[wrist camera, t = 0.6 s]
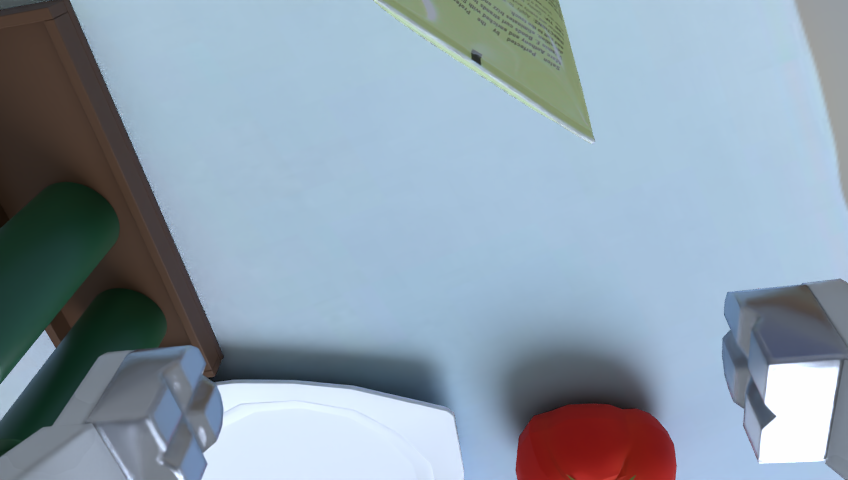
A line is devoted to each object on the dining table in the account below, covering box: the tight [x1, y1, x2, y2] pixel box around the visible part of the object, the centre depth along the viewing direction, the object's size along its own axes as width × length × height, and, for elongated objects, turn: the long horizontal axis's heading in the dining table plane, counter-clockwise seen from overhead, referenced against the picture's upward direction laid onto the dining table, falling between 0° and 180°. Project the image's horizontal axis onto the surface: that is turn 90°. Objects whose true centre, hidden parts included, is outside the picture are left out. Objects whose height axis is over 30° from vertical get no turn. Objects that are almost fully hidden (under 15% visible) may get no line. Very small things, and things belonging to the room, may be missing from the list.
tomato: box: [516, 404, 677, 480], centre depth 49 cm, size 10×11×6 cm
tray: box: [0, 0, 224, 378], centre depth 44 cm, size 25×10×2 cm, turn 10°
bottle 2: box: [0, 288, 167, 457], centre depth 40 cm, size 5×5×19 cm
